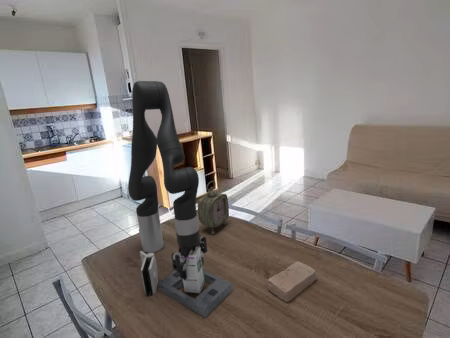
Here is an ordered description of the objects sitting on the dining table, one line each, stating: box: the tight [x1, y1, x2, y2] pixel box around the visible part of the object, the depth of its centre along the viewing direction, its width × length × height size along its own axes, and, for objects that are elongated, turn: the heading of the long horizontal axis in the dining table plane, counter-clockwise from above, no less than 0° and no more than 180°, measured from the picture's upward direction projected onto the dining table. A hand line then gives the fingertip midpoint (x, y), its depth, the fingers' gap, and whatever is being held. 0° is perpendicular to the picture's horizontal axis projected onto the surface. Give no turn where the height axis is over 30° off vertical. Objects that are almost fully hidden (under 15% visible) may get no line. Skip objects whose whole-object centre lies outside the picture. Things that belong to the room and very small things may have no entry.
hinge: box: [139, 250, 159, 297], centre depth 98 cm, size 14×5×10 cm, turn 18°
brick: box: [267, 261, 317, 303], centre depth 92 cm, size 17×8×5 cm, turn 129°
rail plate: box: [157, 269, 233, 318], centre depth 93 cm, size 22×14×3 cm, turn 52°
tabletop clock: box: [197, 180, 230, 235], centre depth 133 cm, size 14×9×25 cm, turn 147°
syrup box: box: [180, 246, 206, 294], centre depth 92 cm, size 6×6×14 cm
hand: (192, 271), depth 92 cm, fingers closed on syrup box, 7 cm apart
